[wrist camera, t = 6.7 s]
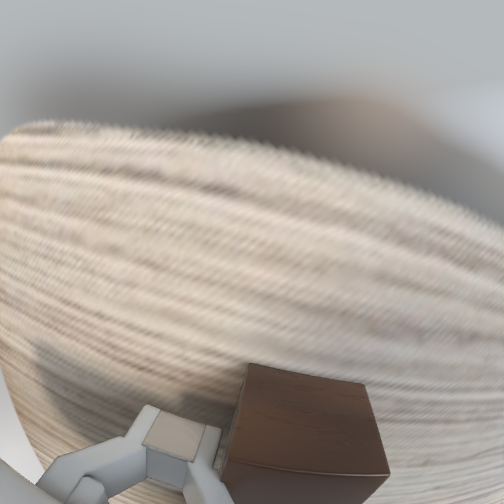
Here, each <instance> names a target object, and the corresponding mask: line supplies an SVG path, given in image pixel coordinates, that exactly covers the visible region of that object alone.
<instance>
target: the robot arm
mask: <svg viewBox="0 0 504 504" xmlns="http://www.w3.org/2000/svg"><path fill="white" fill-rule="evenodd" d="M206 425H207V424H204V423H200V422H197V421H193V420H190V419H187V418H184V417H181V416H178V415H174V414H172V413H169V412H166V411H164V410H161V409H158V408H156V407H153V406H151V405H148V404H146V405H145V406H144V407H143V408H142V410H141V411H140V413H139V414H138V416H137V418H136V419H135V421H134V422H133V424H132V426H131V427H130V429H129V430H128V432H127V434H126V435H125V437H121V436H118V437H115V438H112V439H110V440H107V441H104V442H101V443H99V444H96V445H93V446H90V447H87V448H84V449H81V450H78V451H75V452H71V453H68V454H65V455H62V456H58V457H56V459H55V460H54V461H53V463H52V464H51V465H50V466H49V468H48V469H47V470H46V472H45V473H44V474H43V475H42V477H41V478H40V479H39V481H38V482H37V483H36V485H34V484H33V483H31V482H30V481H29V480H27V479H26V478H24V477H23V476H22V475H20V474H19V473H18V472H17V471H16V470H14V469H13V468H12V467H11V466H9V465H8V464H7V463H6V462H4V461H3V460H2V459H1V458H0V504H109V502H108V499H109V498H111V497H113V496H115V495H117V494H119V493H121V492H122V491H124V490H126V489H128V488H130V487H132V486H133V485H135V484H137V483H139V482H140V481H142V480H144V479H146V477H149V478H151V479H154V480H157V481H160V482H163V483H166V484H169V485H171V486H174V487H177V488H180V489H182V492H183V495H184V498H185V501H186V503H187V504H234V502H233V500H232V498H231V496H230V494H229V492H228V490H227V488H226V486H225V484H224V483H222V482H220V474H219V472H218V470H216V469H213V465H214V462H215V458H216V455H217V451H218V447H219V444H220V440H221V436H222V433H223V429H221V428H217V427H214V426H210V425H207V426H206Z"/></svg>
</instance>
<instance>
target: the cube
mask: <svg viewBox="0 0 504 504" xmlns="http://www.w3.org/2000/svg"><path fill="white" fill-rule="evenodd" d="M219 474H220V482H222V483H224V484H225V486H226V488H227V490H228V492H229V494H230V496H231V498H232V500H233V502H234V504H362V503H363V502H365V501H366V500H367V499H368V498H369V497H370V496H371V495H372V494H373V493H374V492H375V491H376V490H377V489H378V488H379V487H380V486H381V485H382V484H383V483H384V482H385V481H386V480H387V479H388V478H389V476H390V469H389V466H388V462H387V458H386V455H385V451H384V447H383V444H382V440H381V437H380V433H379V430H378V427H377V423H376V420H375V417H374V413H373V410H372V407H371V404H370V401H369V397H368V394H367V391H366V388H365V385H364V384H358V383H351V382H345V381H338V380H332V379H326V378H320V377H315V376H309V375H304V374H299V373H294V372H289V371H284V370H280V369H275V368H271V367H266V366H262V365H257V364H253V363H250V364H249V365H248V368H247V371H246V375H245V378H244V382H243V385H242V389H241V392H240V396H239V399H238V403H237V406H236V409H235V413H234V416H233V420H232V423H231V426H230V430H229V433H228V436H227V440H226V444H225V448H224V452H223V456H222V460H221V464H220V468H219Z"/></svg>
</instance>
